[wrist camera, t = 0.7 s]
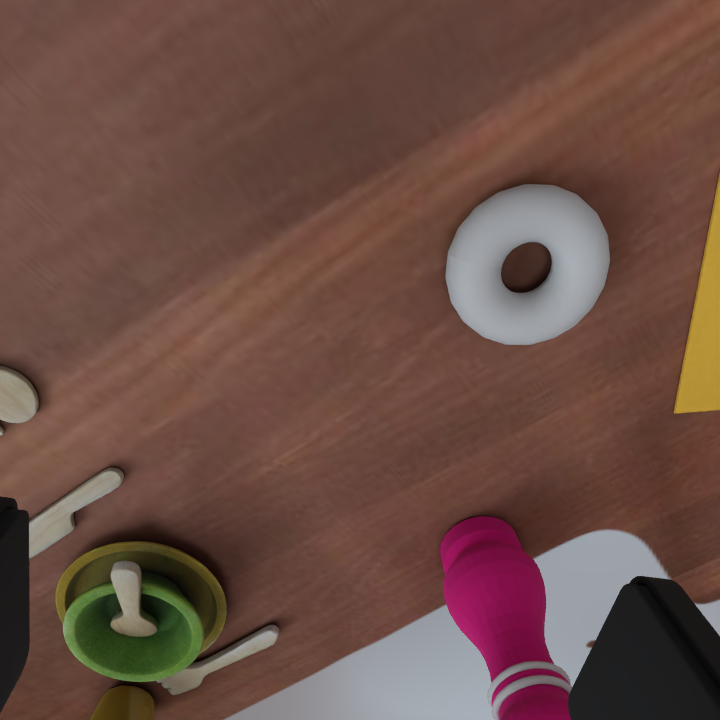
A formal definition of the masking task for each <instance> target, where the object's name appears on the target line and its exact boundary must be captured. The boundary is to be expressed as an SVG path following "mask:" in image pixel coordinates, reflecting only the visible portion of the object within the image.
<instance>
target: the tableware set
mask: <svg viewBox="0 0 720 720" xmlns="http://www.w3.org/2000/svg"><path fill="white" fill-rule="evenodd" d="M38 407H39V401H38V396H37V392H36V390H35V389H34V387H33V385H32V384H31V383H30V381H29V380H28V379H27V378H25V377H24V376H23V375H22V374H21V373H19V372H17V371H14V370H12V369H10V368H7V367H3V366H0V420H3V421H6V422H11V423H21V422H25V421H28V420H30V419H31V418H32V417H33V416H34V415H35V414H36V412H37V410H38ZM2 434H4V430H3V429H2V428H1V426H0V436H1V435H2ZM123 479H124V474H123V472H122V471H121V470H119V469H118V468H110V467H109V468H107V469H105V470H103V471H101V472H100V473H98V474H97V475H95V476H94V477H92V478H91V479H89V480H88V481H86V482H85V483H83V484H82V485H80V486H79V487H77V488H76V489H74V490H73V491H71V492H70V493H69V494H67V495H66V496H64V497H63V498H61V499H60V500H58V501H57V502H55V503H54V504H52V505H51V506H50V507H48V508H47V509H45V510H44V511H42V512H41V513H39V514H38V515H37V516H35V517H34V518H32V519H31V520H29V558H32V557H34V556H35V555H37V554H38V553H40V552H41V551H43V550H45V549H46V548H48V547H49V546H51V545H52V544H54V543H55V542H56V541H58V540H59V539H61V538H62V537H64V536H66V535H67V534H69V533H70V532H71V531H72V530H73V529H74V527H75V522H74V514H73V512H75V511H77V510H79V509H80V508H82V507H84V506H86V505H87V504H89V503H91V502H93V501H95V500H97V499H98V498H100V497H102V496H104V495H106V494H108V493H109V492H111V491H112V490H114V489H116V488H117V487H119V485H120V484H121V483H122V481H123ZM56 607H57V612H58V615H59V617H60V619H61V622H62V624H63V633H64V637H65V640H66V643H67V645H68V647H69V649H70V650H71V652H72V653H73V654H74V655H75V657H76V658H77V659H78V660H80V661H81V662H82V663H83V664H85V665H86V666H87V667H89V668H91V669H92V670H94V671H96V672H98V673H100V674H102V675H105V676H108V677H111V678H114V679H118V680H124V681H132V682H149V681H156V682H157V683H161V682H162V684H161V685H162V686H163V687H164V688H168V691H169V692H170V693H171V694H172V695H177V694H180V693H183V692H186V691H188V690H191V689H194V688H196V687H198V686H199V685H200V684H201V682H202V680H203V678H204V677H205V676H206V675H207V674H209V673H211V672H213V671H215V670H218V669H220V668H222V667H224V666H226V665H229V664H231V663H233V662H236V661H237V660H239V659H242V658H244V657H246V656H248V655H251V654H253V653H256V652H258V651H260V650H262V649H264V648H267V647H269V646H271V645H273V644H274V643H275V641H276V639H277V637H278V635H279V628H278V627H277V626H275V625H269V626H266V627H264V628H262V629H260V630H259V631H257V632H255V633H253V634H251V635H249V636H247V637H246V638H244V639H242V640H240V641H239V642H237V643H235V644H233V645H231V646H229V647H228V648H226V649H224V650H222V651H220V652H218V653H216V654H215V655H213V656H211V657H209V658H207V659H205V660H203V661H200V662H194V660H195V659H196V658H197V656H198V655H199V654H200V653H202V652H203V651H205V650H206V649H207V648H208V647H209V646H210V645H212V644H213V643H214V641H215V640H216V639H217V638H218V636H219V635H220V633H221V631H222V629H223V627H224V624H225V621H226V616H227V605H226V599H225V595H224V592H223V590H222V588H221V586H220V584H219V582H218V581H217V579H216V578H215V577H214V575H213V574H212V573H211V572H210V570H209V569H208V568H207V567H206V566H204V565H203V564H202V563H201V562H199V561H198V560H197V559H195V558H193V557H192V556H190V555H188V554H186V553H184V552H183V551H180V550H178V549H176V548H173V547H170V546H167V545H164V544H159V543H153V542H145V541H128V542H117V543H112V544H108V545H105V546H102V547H98V548H96V549H94V550H92V551H89V552H87V553H85V554H84V555H82V556H81V557H79V558H78V559H76V560H75V561H74V562H73V563H72V564H71V565H70V566H69V567H68V568H67V569H66V570H65V572H64V573H63V575H62V576H61V578H60V580H59V583H58V585H57V590H56ZM193 662H194V663H193ZM169 687H170V688H169ZM153 716H154V701H153V699H152V697H151V695H150V694H149V693H148V692H146V691H145V690H143V689H141V688H139V687H135V686H118V687H114V688H112V689H110V690H108V691H107V692H106V693H105V694H104V695H103V696H102V698H101V700H100V702H99V703H98V705H97V707H96V709H95V711H94V712H93V714H92V716H91V718H90V720H153Z"/></svg>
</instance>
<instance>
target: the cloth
mask: <svg viewBox="0 0 720 720" xmlns="http://www.w3.org/2000/svg"><path fill="white" fill-rule="evenodd" d="M711 410H720V173H719V178H718V184H717V189H716V194H715V199H714V204H713V210H712V215H711V220H710V225H709V230H708V235H707V241H706V246H705V251H704V256H703V261H702V267H701V272H700V277H699V282H698V287H697V292H696V298H695V303H694V308H693V313H692V318H691V324H690V329H689V334H688V339H687V344H686V349H685V355H684V360H683V365H682V370H681V375H680V381H679V386H678V391H677V396H676V401H675V406H674V413H687V412H699V411H711Z"/></svg>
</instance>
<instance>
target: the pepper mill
mask: <svg viewBox="0 0 720 720" xmlns="http://www.w3.org/2000/svg"><path fill="white" fill-rule="evenodd" d="M440 556H441V560H442V564H443V568H444V572H445V574H446V576H445V579H444V585H443V593H444V598H445V601H446V604H447V607H448V610H449V612H450V614H451V616H452V618H453V619H454V621H455V622H456V624H457V626H458V627H459V628H460V630H461V631H462V632H463V633H464V634H465V635H466V636H467V637H468V638H469V640H470V641H471V642H472V643H473V644H474V645H475V646H476V647H477V648H478V650H479V651H480V652H481V654H482V656H483V657H484V659H485V661H486V664H487V666H488V669H489V672H490V676H491V682H492V683H491V685H490V687H489V690H488V701H489V704H490V706H491V707H492V715H493V718H494V720H571V718H570V715H569V710H568V697H569V694H570V691H571V689H572V687H571V684H570V679H569V677H568V675H567V674H566V672H565V671H564V670H563V669H562V668H560V667H558V666H556V665H554V663H553V661H552V659H551V657H550V655H549V652H548V649H547V646H546V643H545V637H544V622H545V612H546V595H545V586H544V582H543V579H542V576H541V573H540V570H539V568H538V566H537V564H536V563H535V561H534V560H533V559H532V558H531V557H530V556H529V555H528V554H527V553H525V552H524V551H523V549H522V546H521V544H520V542H519V540H518V537H517V535H516V533H515V531H514V530H513V528H512V527H511V526H510V525H509V524H507V523H506V522H505V521H503V520H500V519H498V518H495V517H488V516H480V517H473V518H469V519H466V520H464V521H462V522H460V523H458V524H456V525H455V526H454V527H453V528H451V529H450V530H449V531H448V532H447V533H446V535H445V536H444V538H443V540H442V543H441V547H440Z"/></svg>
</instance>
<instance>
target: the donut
mask: <svg viewBox="0 0 720 720" xmlns="http://www.w3.org/2000/svg"><path fill="white" fill-rule="evenodd" d="M528 242H538V243H540V244H543V245H544V246H545V247H546V248H548V250H549V252H550V253H551V259H552V265H551V270H550V273H549V275H548V277H547V279H546V280H545V281H544V282H543V283H542V284H541V285H540V286H539V287H537V288H536V289H534V290H532V291H529V292H525V293H515V292H512V291H510V290H509V289H508V288H506V287H505V285H504V284H503V282H502V278H501V269H502V264H503V262H504V260H505V258H506V256H507V255H508V254H509V253H510V252H511V251H512V250H513V249H514V248H516V247H517V246H519V245H521V244H524V243H528ZM609 264H610V253H609V243H608V235H607V233H606V231H605V229H604V226H603V224H602V222H601V220H600V218H599V216H598V214H597V213H596V212H595V211H594V210H593V209H592V208H591V207H590V206H589V205H588V204H587V203H586V202H585V201H583V200H582V199H581V198H580V197H579V196H578V195H577V194H575V193H572V192H570V191H567V190H565V189H562V188H560V187H557V186H555V185H540V184H524V185H520V186H517V187H513V188H510V189H507V190H503V191H500V192H498V193H496V194H495V195H493V196H492V197H490V198H489V199H487V200H486V201H484V202H483V203H481V204H480V205H478V206H477V207H475V208H474V210H473V211H472V212H471V213H470V214H469V216H468V217H467V218H466V219H465V220H464V222H463V223H462V224H461V225H460V226H459V228H458V230H457V232H456V234H455V237H454V239H453V241H452V244H451V246H450V248H449V251H448V256H447V266H446V276H445V277H446V282H447V287H448V291H449V296H450V300H451V303H452V305H453V306H454V308H455V309H456V311H457V312H458V314H459V316H460V317H461V319H462V320H463V322H464V323H466V324H467V325H468V326H470V327H471V328H472V329H474V330H475V331H476V332H477V333H479V334H480V335H481V336H483V337H484V338H487V339H490V340H493V341H496V342H499V343H502V344H505V345H531V344H534V343H538V342H542V341H545V340H549V339H552V338H555V337H557V336H558V335H560V334H562V333H563V332H565V331H567V330H568V329H570V328H572V327H574V326H575V325H576V324H577V323H578V322H579V321H580V320H581V319H582V318H583V317H584V316H585V315H586V314H587V313H588V312H589V311H590V310H591V309H592V308H593V306H594V304H595V302H596V301H597V299H598V297H599V295H600V293H601V291H602V290H603V288H604V286H605V282H606V277H607V273H608V268H609Z"/></svg>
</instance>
